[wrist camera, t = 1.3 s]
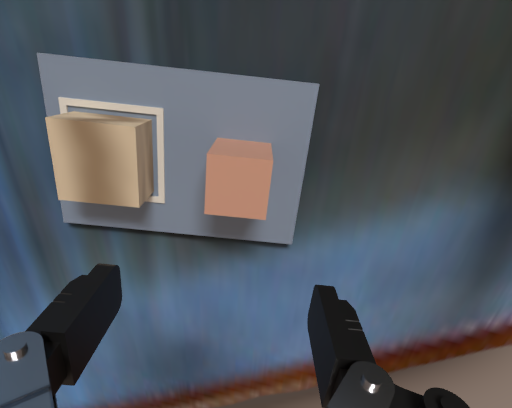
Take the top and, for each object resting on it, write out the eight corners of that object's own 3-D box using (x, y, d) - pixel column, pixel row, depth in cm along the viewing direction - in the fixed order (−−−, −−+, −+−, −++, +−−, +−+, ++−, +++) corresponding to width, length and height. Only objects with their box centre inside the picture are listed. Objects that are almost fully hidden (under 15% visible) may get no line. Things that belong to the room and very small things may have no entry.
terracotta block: (271, 143, 29) (273, 160, 23) (264, 193, 31) (265, 220, 25) (217, 137, 29) (206, 153, 23) (214, 188, 31) (204, 214, 25)
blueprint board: (317, 83, 28) (319, 84, 26) (290, 238, 34) (292, 245, 33) (45, 53, 27) (35, 52, 26) (70, 217, 33) (62, 223, 32)
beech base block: (151, 119, 28) (135, 126, 24) (153, 191, 31) (139, 207, 27) (73, 111, 28) (45, 117, 24) (82, 184, 31) (58, 199, 27)
